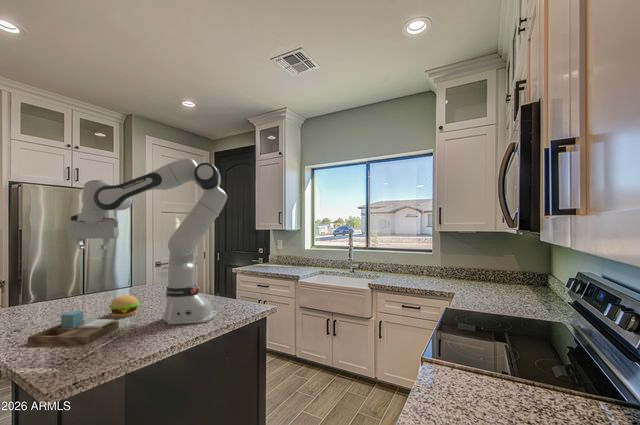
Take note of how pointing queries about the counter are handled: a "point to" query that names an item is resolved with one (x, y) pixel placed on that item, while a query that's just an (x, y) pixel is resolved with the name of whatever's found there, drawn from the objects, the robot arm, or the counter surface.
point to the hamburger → (124, 306)
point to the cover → (94, 322)
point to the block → (71, 319)
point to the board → (71, 335)
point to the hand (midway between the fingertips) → (92, 249)
